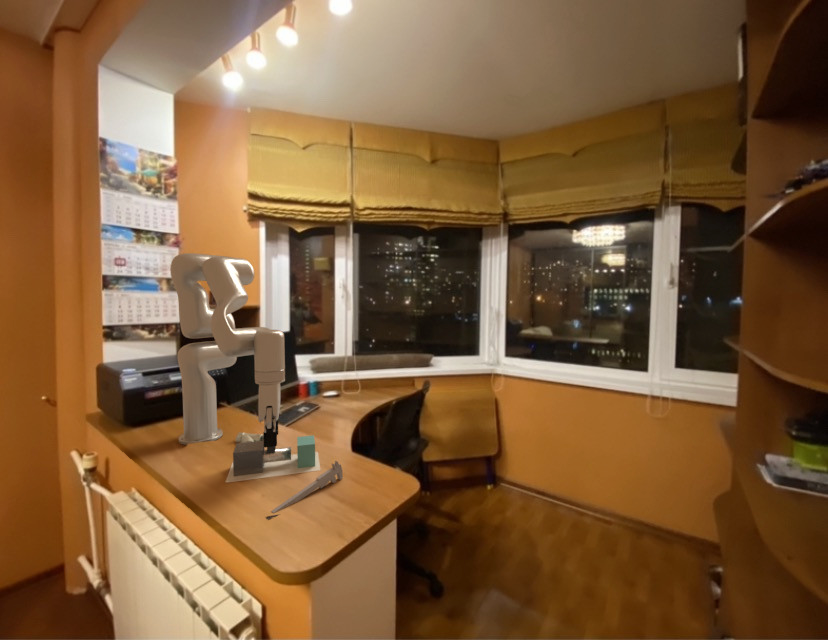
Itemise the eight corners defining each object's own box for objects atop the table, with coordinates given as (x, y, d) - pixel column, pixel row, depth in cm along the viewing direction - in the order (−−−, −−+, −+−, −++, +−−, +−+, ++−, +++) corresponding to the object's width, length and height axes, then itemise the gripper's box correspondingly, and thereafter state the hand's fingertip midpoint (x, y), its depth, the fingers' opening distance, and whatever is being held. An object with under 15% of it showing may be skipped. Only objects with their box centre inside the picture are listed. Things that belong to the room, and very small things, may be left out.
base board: (233, 465, 104) (232, 461, 104) (317, 454, 111) (317, 451, 111) (225, 486, 92) (225, 482, 92) (320, 473, 99) (320, 470, 99)
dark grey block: (237, 465, 101) (236, 443, 101) (264, 462, 103) (264, 440, 103) (233, 476, 95) (232, 453, 95) (262, 472, 97) (262, 449, 97)
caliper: (339, 482, 95) (339, 458, 95) (342, 483, 95) (342, 459, 94) (265, 519, 80) (265, 491, 79) (268, 521, 79) (268, 493, 78)
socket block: (297, 458, 106) (297, 437, 106) (314, 456, 108) (313, 435, 107) (297, 468, 100) (297, 445, 100) (315, 466, 101) (315, 443, 101)
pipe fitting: (252, 454, 112) (265, 443, 119) (251, 441, 112) (264, 432, 118) (229, 451, 114) (243, 441, 120) (228, 439, 113) (242, 429, 120)
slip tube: (236, 463, 100) (235, 430, 99) (291, 456, 104) (290, 425, 103) (234, 468, 97) (233, 434, 96) (291, 462, 101) (290, 429, 100)
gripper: (258, 370, 106) (259, 430, 108) (251, 384, 90) (252, 456, 91) (285, 368, 109) (286, 428, 110) (284, 382, 92) (285, 452, 93)
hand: (271, 440), depth 100 cm, fingers open, 7 cm apart
